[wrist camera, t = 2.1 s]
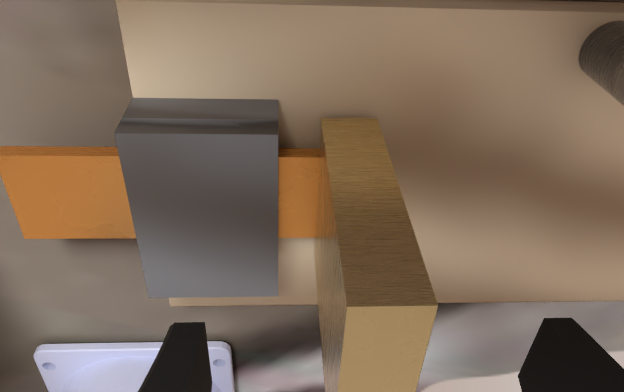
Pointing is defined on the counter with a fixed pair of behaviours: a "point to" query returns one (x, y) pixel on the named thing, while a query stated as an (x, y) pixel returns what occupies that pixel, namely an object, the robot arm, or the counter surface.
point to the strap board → (396, 132)
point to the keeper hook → (605, 58)
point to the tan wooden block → (291, 224)
